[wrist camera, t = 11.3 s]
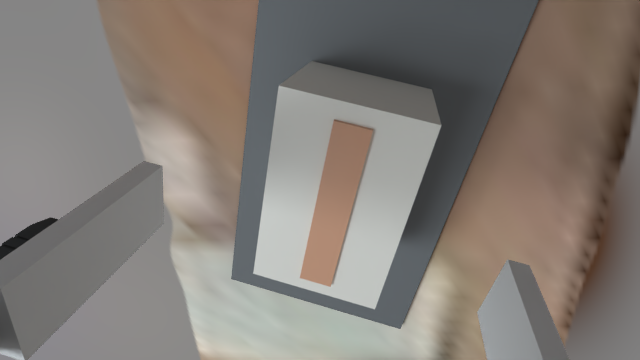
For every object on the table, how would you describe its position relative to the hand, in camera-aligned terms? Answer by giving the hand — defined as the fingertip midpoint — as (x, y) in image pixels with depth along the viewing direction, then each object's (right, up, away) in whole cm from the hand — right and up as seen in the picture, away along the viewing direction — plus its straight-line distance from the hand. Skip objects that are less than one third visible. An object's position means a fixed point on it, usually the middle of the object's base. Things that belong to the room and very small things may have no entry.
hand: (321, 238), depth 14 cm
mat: (+2, +4, +8) cm, 9 cm away
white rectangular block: (+2, +3, +8) cm, 9 cm away
